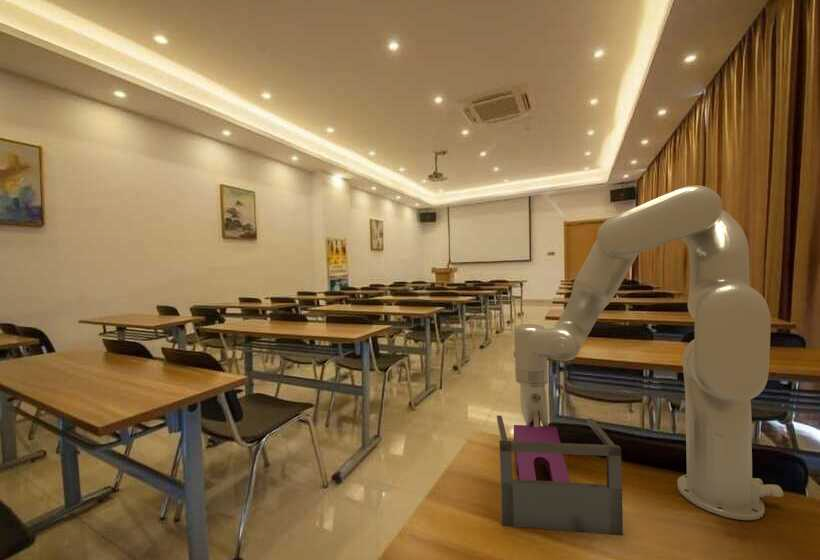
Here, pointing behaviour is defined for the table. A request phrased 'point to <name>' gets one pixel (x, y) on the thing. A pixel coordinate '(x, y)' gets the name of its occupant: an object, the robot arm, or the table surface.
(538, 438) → the mounting bracket
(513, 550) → the table surface
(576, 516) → the rack
